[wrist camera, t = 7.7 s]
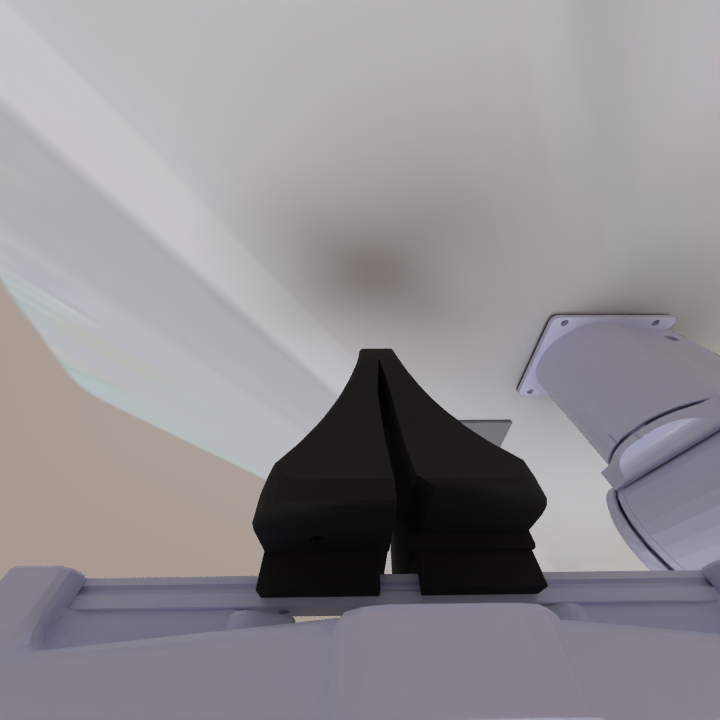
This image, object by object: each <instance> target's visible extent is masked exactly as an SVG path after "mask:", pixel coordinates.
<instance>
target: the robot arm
mask: <svg viewBox="0 0 720 720" xmlns="http://www.w3.org/2000/svg"><path fill="white" fill-rule="evenodd" d="M564 320H565V321H564ZM563 321H564V322H563ZM675 321H676V318H675V317H673V316H671V315H556V316H554V317H552V318H551V319H550V320H549V322H548V324H547V327H546V329H545V331H544V333H543V335H542V337H541V340H540V342H539V344H538V346H537V348H536V350H535V353H534V355H533V357H532V359H531V361H530V363H529V366H528V368H527V370H526V372H525V374H524V376H523V379H522V381H521V383H520V385H519V387H518V390H517V391H518V393H519V394H520V395H549V396H550V397H551V398H552V399H553V400H554V401H555V403H556V404H557V405H558V406H559V407H560V408H561V410H562V411H563V412H564V413H565V414H566V416H567V417H568V418H569V419H570V420H571V421H572V423H573V424H574V425H575V426H576V427H577V428H578V430H579V431H580V432H581V433H582V434H583V436H584V437H585V438H586V439H587V440H588V441H589V443H590V444H591V445H592V446H593V447H594V448H595V450H596V451H597V452H598V453H599V454H600V456H601V457H602V458H603V459H604V460H605V461H606V463H607V464H608V465H609V466H608V467H607V468H606V469H604V470H603V471H602V472H601V473H602V475H603V476H604V477H605V478H606V479H607V481H608V482H609V483H610V484H611V486H612V487H613V488H611V489H610V490H609V491H608V493H607V497H606V500H607V505H608V509H609V511H610V515H611V518H612V520H613V523H614V525H615V527H616V528H617V530H618V532H619V533H620V535H621V537H622V538H623V539H624V541H625V542H626V544H627V545H628V546H629V547H630V549H631V550H632V551H633V552H634V553H635V555H636V556H637V557H638V558H639V559H640V560H641V561H642V562H643V563H644V564H645V565H646V566H647V567H648V568H649V569H650V570H651V571H596V572H542V571H541V569H540V567H539V565H538V562H537V560H536V558H535V556H534V554H533V551H532V550H533V549H534V548H535V542H534V540H533V538H532V536H531V534H530V532H529V529H530V528H531V527H532V526H533V525H534V523H535V522H536V521H537V520H538V519H539V517H540V516H541V515H542V513H543V512H544V510H545V508H546V506H547V498H546V496H545V494H544V493H543V491H542V489H541V487H540V486H539V484H538V482H537V480H536V479H535V477H534V475H533V474H532V472H531V471H530V469H529V468H528V466H527V465H526V463H525V462H524V460H522V459H520V458H518V457H516V456H515V455H513V454H511V453H509V452H507V451H505V450H504V449H502V448H500V447H498V446H496V445H495V444H493V443H491V442H489V441H488V440H486V439H485V438H483V437H482V436H480V435H478V434H477V433H475V432H474V431H472V430H471V429H469V428H468V427H466V426H465V425H464V424H462V423H461V422H460V421H458V420H457V419H456V418H454V417H453V416H452V415H450V414H449V413H448V412H446V411H445V410H444V409H443V408H442V407H441V406H439V405H438V404H437V403H436V402H435V401H434V400H433V399H432V398H431V397H430V396H429V395H428V394H427V393H426V392H425V391H424V390H423V389H422V388H421V387H420V386H419V385H418V383H417V382H416V381H415V380H414V379H413V377H412V376H411V375H410V374H409V372H408V371H407V370H406V369H405V367H404V366H403V365H402V363H401V362H400V360H399V359H398V357H397V356H396V354H395V353H394V351H393V350H392V349H361V350H360V352H359V358H358V361H357V364H356V366H355V369H354V371H353V373H352V375H351V377H350V379H349V381H348V383H347V385H346V386H345V388H344V390H343V392H342V393H341V395H340V396H339V398H338V399H337V401H336V402H335V404H334V405H333V406H332V408H331V409H330V410H329V412H328V413H327V414H326V415H325V416H324V418H323V419H322V420H321V421H320V422H319V423H318V425H317V426H316V427H315V428H314V429H313V430H312V431H311V432H310V433H309V434H308V435H307V436H306V437H305V438H304V439H303V440H302V441H301V442H300V443H299V444H298V445H296V446H295V447H294V448H293V449H292V450H291V451H289V452H288V453H287V454H286V455H285V456H283V457H282V458H281V459H280V460H279V461H277V462H276V463H275V465H274V466H273V468H272V470H271V472H270V474H269V476H268V478H267V481H266V483H265V485H264V488H263V490H262V492H261V495H260V498H259V501H258V505H257V508H256V512H255V515H254V519H253V522H252V524H253V529H254V531H255V533H256V535H257V537H258V539H259V541H260V543H261V545H262V547H263V549H264V551H265V552H264V556H263V561H262V564H261V569H260V573H259V576H224V577H222V576H221V577H152V578H151V577H148V578H147V577H146V578H86V577H85V575H83V574H82V573H81V572H79V571H77V570H75V569H72V568H69V567H64V566H17V567H14V568H11V569H10V570H9V571H8V572H7V574H6V575H5V576H4V577H3V578H2V579H1V580H0V720H720V356H719V355H718V354H716V353H714V352H712V351H710V350H708V349H706V348H704V347H702V346H700V345H698V344H696V343H694V342H692V341H690V340H688V339H686V338H685V337H683V336H681V335H679V334H677V333H675V332H673V331H671V330H669V329H670V328H671V327H672V325H673V324H674V323H675ZM562 322H563V323H562ZM390 543H391V559H392V574H384V570H385V564H386V558H387V552H388V551H389V548H390ZM292 616H341V617H340V618H335V619H325V620H316V621H308V622H298V623H295V620H294V618H293V617H292Z"/></svg>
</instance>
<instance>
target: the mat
mask: <svg viewBox="0 0 720 720" xmlns="http://www.w3.org/2000/svg"><path fill="white" fill-rule="evenodd" d="M460 422H461V423H462V424H464V425H465V426H466V427H468V428H469V429H471V430H472V431H474V432H475V433H477V434H478V435H480V436H482V437H483V438H485V439H486V440H488V441H489V442H491V443H493V444H495V445H496V446H498V447H500V446H501V444H502V442H503V440H504V438H505V436H506V434H507V432H508V430H509V428H510V426H511V424H512V421H511V420H486V421H460Z"/></svg>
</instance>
